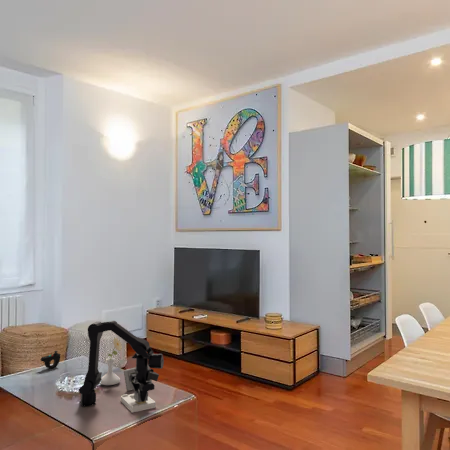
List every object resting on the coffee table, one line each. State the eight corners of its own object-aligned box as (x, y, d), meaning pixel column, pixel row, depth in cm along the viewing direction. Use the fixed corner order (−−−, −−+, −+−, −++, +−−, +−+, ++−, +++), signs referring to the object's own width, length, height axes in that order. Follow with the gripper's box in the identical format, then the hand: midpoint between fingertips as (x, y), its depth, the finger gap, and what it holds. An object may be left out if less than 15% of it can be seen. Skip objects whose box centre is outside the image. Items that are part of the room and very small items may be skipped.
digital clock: (126, 392, 222) (126, 372, 223) (120, 387, 230) (121, 367, 230) (154, 387, 231) (155, 367, 232) (148, 382, 239) (148, 363, 239)
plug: (137, 407, 200) (138, 392, 200) (134, 404, 204) (134, 389, 204) (147, 405, 202) (148, 390, 203) (143, 402, 207) (144, 387, 207)
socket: (131, 412, 196) (132, 405, 197) (120, 401, 210) (120, 394, 210) (155, 407, 203) (155, 401, 203) (143, 396, 216) (143, 390, 216)
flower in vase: (109, 388, 227) (110, 342, 228) (94, 384, 233) (96, 339, 234) (126, 382, 238) (127, 337, 239) (112, 378, 244) (113, 335, 245)
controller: (61, 366, 264) (61, 350, 264) (43, 371, 253) (43, 354, 254) (57, 365, 266) (57, 349, 266) (39, 370, 256) (39, 353, 256)
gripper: (165, 370, 200) (164, 403, 200) (149, 360, 216) (149, 390, 215) (143, 373, 194) (142, 407, 194) (129, 363, 210) (128, 394, 209)
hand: (140, 399), depth 203 cm, fingers closed on plug, 5 cm apart
